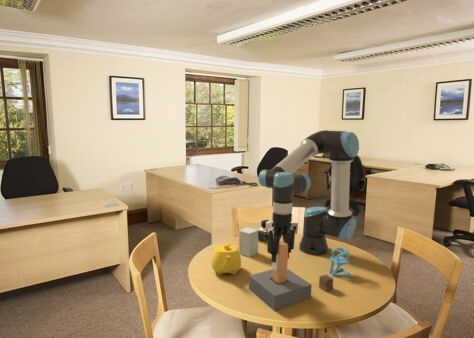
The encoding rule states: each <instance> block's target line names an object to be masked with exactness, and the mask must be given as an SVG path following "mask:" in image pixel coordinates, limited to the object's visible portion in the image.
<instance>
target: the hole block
mask: <svg viewBox="0 0 474 338" xmlns="http://www.w3.org/2000/svg"><path fill="white" fill-rule="evenodd" d="M272 279H273V268H272V269H269V270H265V271H262V272H257V273H253V274H250V275H248V290H249V291H251V292H252V293H253V294H254V295H255V296H256V297H257V298H259V299H260V300H261V301H262V302H263V303H264V304H265V305H267V306H268V307H269V308H270V309H271V310H273V311H277V310H280V309H283V308H287V307H290V306H292V305H296V304H298V303H301V302H304V301H307V300H310V299H312V284H311V283H310V282H308V281H307V280H306V279H304V278H303V277H301V276H299V275H298V274H296V273H295V272H293V271H291V270H290V269H289V268H287V279H286V282H284V283H281V284H277V283H276V282H275V281H273V280H272Z"/></svg>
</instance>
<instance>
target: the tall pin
mask: <svg viewBox="0 0 474 338" xmlns="http://www.w3.org/2000/svg"><path fill="white" fill-rule="evenodd" d="M277 254H278V255H279V256H278V271H276V270H275V269H273V268H272V269H273V279H272V280H273V281H275V282H276V283H277V284H281V283H284V282H286V279H287V269H288V266H287V257H288V244H287V243H285V242H283V240H280V242H279V246H278V251H277Z"/></svg>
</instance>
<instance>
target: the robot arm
mask: <svg viewBox="0 0 474 338" xmlns="http://www.w3.org/2000/svg"><path fill="white" fill-rule="evenodd" d="M359 150H360V141H359V138H358V136H357V135H356V134H355V132H351V131H347V130H328V129H327V130H325V129H324V130H319V131H316V132H315V133H312V134H310V135H309V136H307V137H306V138H304V139H303V140H302V141H301V142H300V145H299V146H297V147H296V148H295V149H294V150H293V151H292V152H290V154H288V155H287V156H286V157H284V158H283V159H282V160H281V161H280V162H278V163H277V164H276V165H275V166H274V167H272V168H271V169H262V170H260V173H259V174H258V183H259V185H260V186H261V187H265V188H268V189H273V199H272V200H273V201H272V204H273V205H272V211H273V212H272V216H271V217H272V220H271V221H272V228H271V229H267V230H266V232H267V244H266V245H267V246H266V251H267V253H268V254H270V255H271V258H270V259H271V262H272V269H275V270H276V271H278V256H279V255H278V254H277V251H278V246H279V242H280V241H281V239H282V241H283V242H285V243H287V244H288V257H287V267H289V265H288V264H289V260H290V259H289V258H290V253H292V250H293V251H294V249H295V238H296V230H297V226H296V225H294V224H292V219H293V216H292V215H293V213H292V212H293V197H294V195H299V194H302V193H305V192H306V191H307V192H308V191H309V189H310V188H311V185H312V181H311V178H310V176H308V175H307V174H305V173H298V174H294V173H295V172H296V171H297V170H298V169H299V168H300V167H301V166H303V165H304V164H305V163H306V162H307V161H308V160H310V158H314V157H316V156H317V155H321V154H324V155H328V160H329V161H330V162H331V176H330V177H331V180H330V186H331V187H330V191H331V192H330V209H327V207H325V206H312V207H308V208H306V209H305V211H304V212H303V213H304V214H303V233H302V237H301V240H300V242H299V245H298V247H299V250H300V251H301V252H302V253H304V254H308V255H313V256H314V255H315V256H317V255H318V256H320V255H325V254H327V253H328V252H329V245H328V242H327V237H326V236H330V237H333V238H336V239H339V240H349V239H350V238H351V237H352V236H353V234H354V232H355V230H356V227H357V220H356V218H354V217H353V214H352V213H353V212H352V211H351V210H350V209H349V208H350V187H351V186H350V181H351V180H350V179H351V178H350V177H351V163H352V162H353V161H354V158H355V157H357V156H358V154H359ZM273 231H274V233H273ZM273 234H274V240H273Z"/></svg>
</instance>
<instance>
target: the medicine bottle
mask: <svg viewBox="0 0 474 338" xmlns="http://www.w3.org/2000/svg"><path fill="white" fill-rule="evenodd" d="M260 222H261V224H260V227H259V228H258V229H257V230H258V243H259V242H260V243H263V244H265V245H267V232H266V230H267V229H271V228H272V225H273V221H272V220H269V219H263V220H261V221H260ZM273 233H274V231H273ZM273 240H274V234H273Z"/></svg>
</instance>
